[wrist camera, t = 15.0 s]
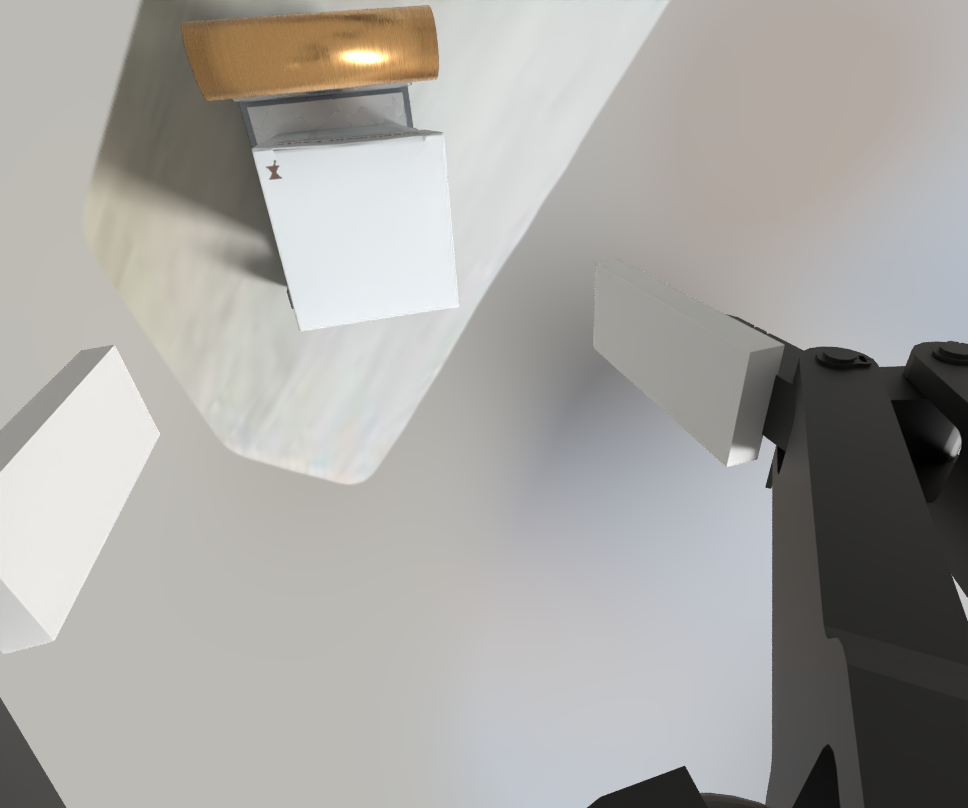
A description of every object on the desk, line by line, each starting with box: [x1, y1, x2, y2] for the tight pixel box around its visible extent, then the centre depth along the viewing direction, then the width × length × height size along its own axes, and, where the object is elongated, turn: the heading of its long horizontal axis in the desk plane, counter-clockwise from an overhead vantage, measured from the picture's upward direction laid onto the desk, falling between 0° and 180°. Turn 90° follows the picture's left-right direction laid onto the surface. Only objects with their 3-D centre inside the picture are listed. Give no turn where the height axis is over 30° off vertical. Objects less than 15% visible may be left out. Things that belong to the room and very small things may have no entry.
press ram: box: [181, 5, 439, 103], centre depth 26 cm, size 11×2×23 cm, turn 95°
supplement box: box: [252, 125, 459, 332], centre depth 33 cm, size 10×9×17 cm
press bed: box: [239, 86, 413, 309], centre depth 39 cm, size 12×16×5 cm
